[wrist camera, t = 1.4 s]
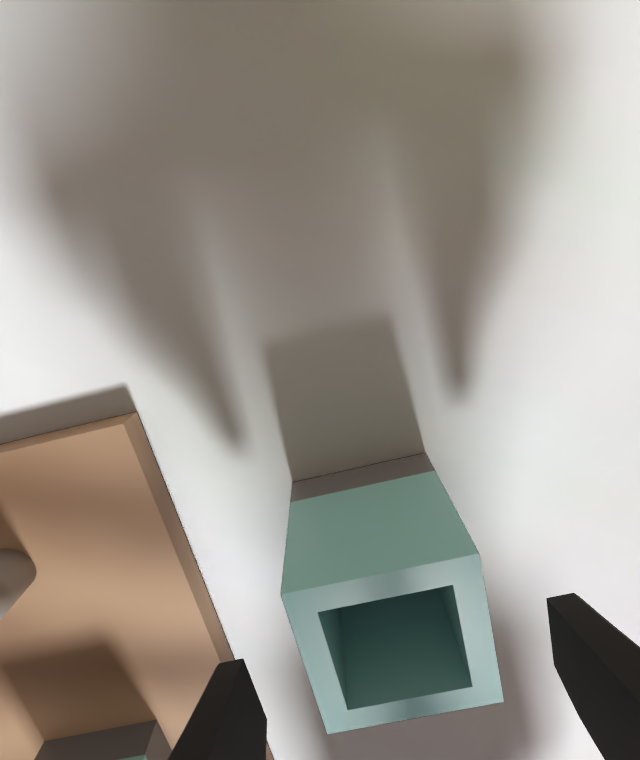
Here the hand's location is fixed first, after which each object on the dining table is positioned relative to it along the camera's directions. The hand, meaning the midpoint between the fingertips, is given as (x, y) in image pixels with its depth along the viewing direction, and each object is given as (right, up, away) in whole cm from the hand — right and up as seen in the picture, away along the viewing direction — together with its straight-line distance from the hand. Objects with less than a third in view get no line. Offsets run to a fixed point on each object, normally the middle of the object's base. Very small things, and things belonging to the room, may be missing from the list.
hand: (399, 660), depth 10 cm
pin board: (-11, -4, +7) cm, 13 cm away
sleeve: (0, +1, +5) cm, 5 cm away
